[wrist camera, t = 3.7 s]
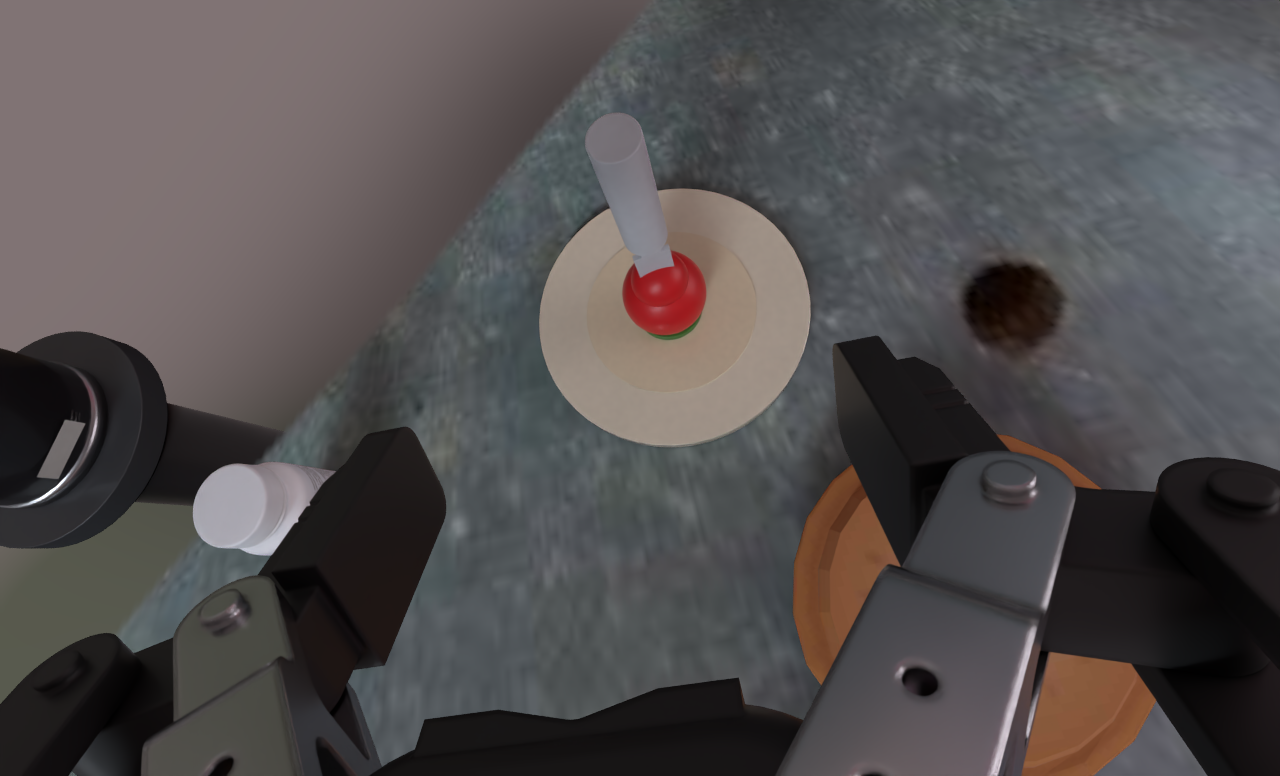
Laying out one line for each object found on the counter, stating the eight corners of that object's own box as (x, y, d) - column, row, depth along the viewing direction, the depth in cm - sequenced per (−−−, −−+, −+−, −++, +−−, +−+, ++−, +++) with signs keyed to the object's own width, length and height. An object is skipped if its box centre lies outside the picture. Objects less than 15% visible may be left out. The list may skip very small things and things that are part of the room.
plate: (512, 416, 37) (506, 413, 36) (580, 180, 40) (576, 173, 39) (780, 475, 34) (781, 473, 33) (831, 213, 37) (833, 205, 36)
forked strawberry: (643, 357, 36) (565, 217, 20) (622, 287, 37) (534, 107, 22) (719, 332, 35) (698, 170, 20) (695, 262, 37) (658, 60, 21)
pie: (859, 393, 34) (878, 369, 29) (1166, 526, 30) (1245, 523, 25) (737, 657, 32) (735, 676, 27) (1051, 837, 28) (1114, 898, 23)
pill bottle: (324, 463, 38) (213, 441, 30) (389, 487, 37) (290, 472, 29) (291, 537, 38) (167, 535, 30) (356, 565, 36) (245, 571, 28)
